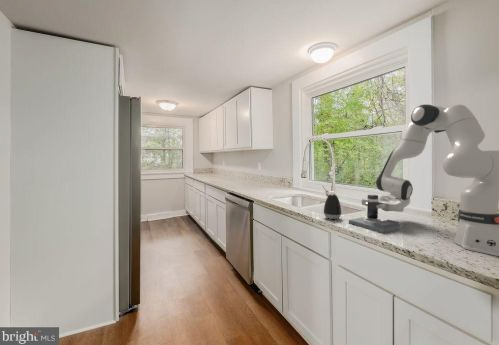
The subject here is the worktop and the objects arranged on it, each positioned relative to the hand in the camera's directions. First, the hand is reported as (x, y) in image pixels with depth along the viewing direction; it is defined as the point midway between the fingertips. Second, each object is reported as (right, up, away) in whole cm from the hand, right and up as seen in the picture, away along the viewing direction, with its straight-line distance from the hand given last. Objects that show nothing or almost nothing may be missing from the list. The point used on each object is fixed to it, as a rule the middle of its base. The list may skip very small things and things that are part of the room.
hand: (371, 205), depth 123 cm
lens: (+1, -7, +1) cm, 7 cm away
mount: (+1, -11, +1) cm, 11 cm away
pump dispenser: (-15, -11, +18) cm, 25 cm away
